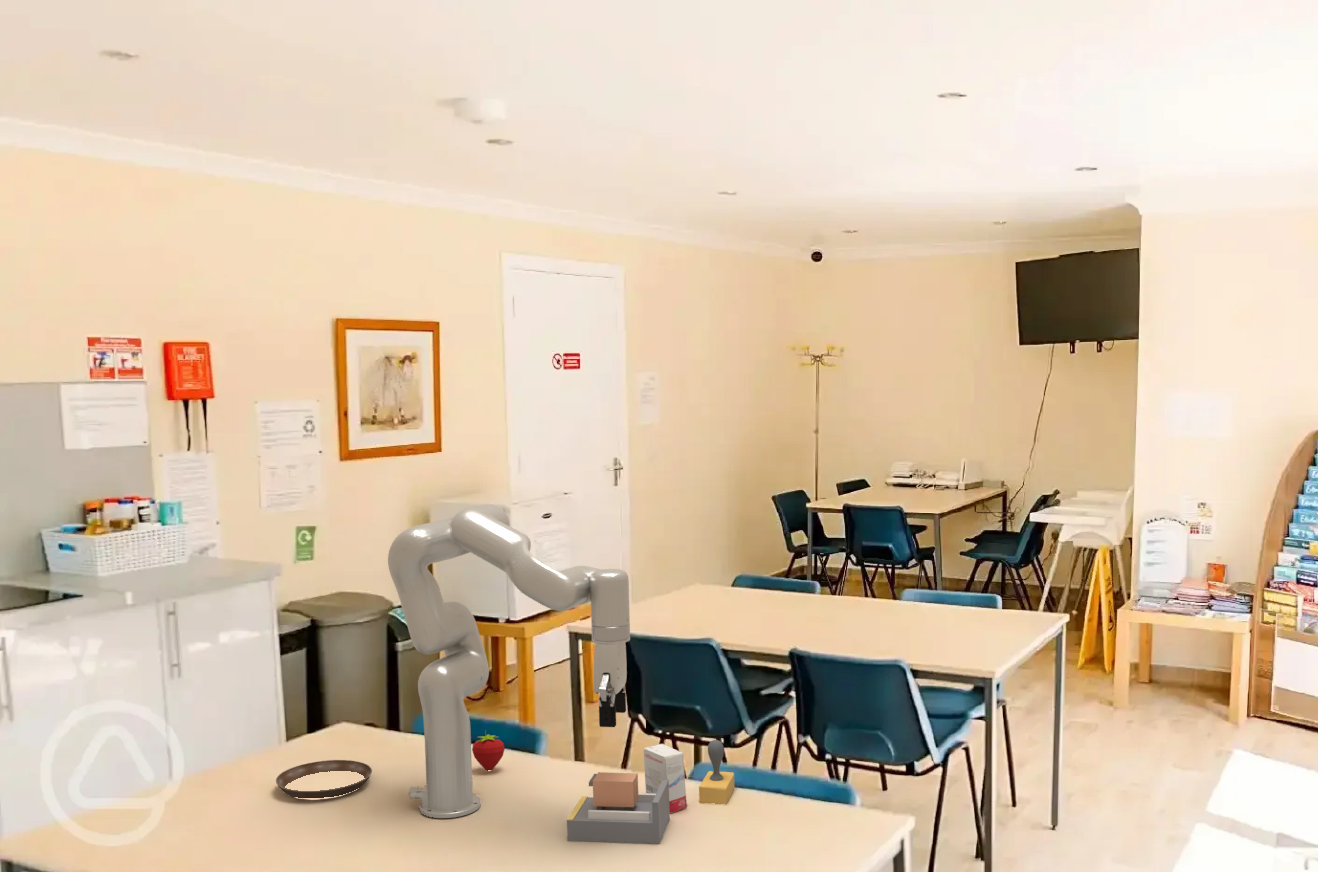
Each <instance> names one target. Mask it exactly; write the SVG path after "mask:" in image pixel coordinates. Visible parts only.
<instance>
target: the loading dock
mask: <svg viewBox="0 0 1318 872" xmlns="http://www.w3.org/2000/svg"><path fill="white" fill-rule="evenodd" d="M596 807H597V806H593V796H592V797H589V796H587V795H586V796H585V795H582V796H581V797H580V799H579V800H578V802H577V803H576V804H575V806H574V807H573V808H572V811H571V812H570V814H569V816H568V817H567V818H566V829H567V830H566V833H567V834H566V835H567V842H590V843H591V842H592V843H616V844H619V843H622V844H648V845H650V844H651V845H660V844H661V841H662V838H663V837H664V834H665V831H666V829H667V827H668V825H669V822H670V819H671V817H670V816H671V815H670V814H671V813H670V810H669V780H662V782H661V784H660V787H659V789H658V791H657V793H656V794H649V793H646V792H645V793H643V792H638V800H637V802H636V805H635V806H634V807H632V808H633V810H632V811H625V810H624V808H625V807H606V806H604V808H605V809H604V810H597V809H596Z"/></svg>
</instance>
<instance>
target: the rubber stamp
mask: <svg viewBox="0 0 1318 872" xmlns="http://www.w3.org/2000/svg"><path fill="white" fill-rule="evenodd" d="M724 748H725V747H724V745H723V742H721V740H718V739H712V740H711V741H710V742H709V743H708V746H707V753H708V754H707V755H708V758H709V760H710V762H711V764H712V765H711V766H712V769H713V771H711V770H709V771H708V772H707V773H706V775H705V776H704V778H703V779H702V781H701V782H700V785H699V787H698V792H699V793H698V795H699V799H698V801H699V804H704V803H715V804H714V805H721V804H725V805H726V804H727V803H728V801H729V800H730V797H731V795H732V794H733V792H734V790H735V773H734V772H732V771H731V772H730V771H720V766H721V764H722V760H723V757H724V754H725V749H724ZM733 789H734V790H733Z"/></svg>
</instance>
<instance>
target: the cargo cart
mask: <svg viewBox="0 0 1318 872" xmlns="http://www.w3.org/2000/svg"><path fill="white" fill-rule="evenodd" d="M638 777H639V772H638V773H637V772H636V773H635V772H601V771H600V772H599V771H598V772H597V773H594V774H593V775H592V776H591V778H590V779H589V781H588V787H592V797H593V806H597V807H596V809H597V810H604V809H605V808H604V806H606V807H625V808H624V810H625V811H632V810H633V808H632V807H634V806H635V805H636V802H637V800H638V793H639V778H638Z"/></svg>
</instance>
